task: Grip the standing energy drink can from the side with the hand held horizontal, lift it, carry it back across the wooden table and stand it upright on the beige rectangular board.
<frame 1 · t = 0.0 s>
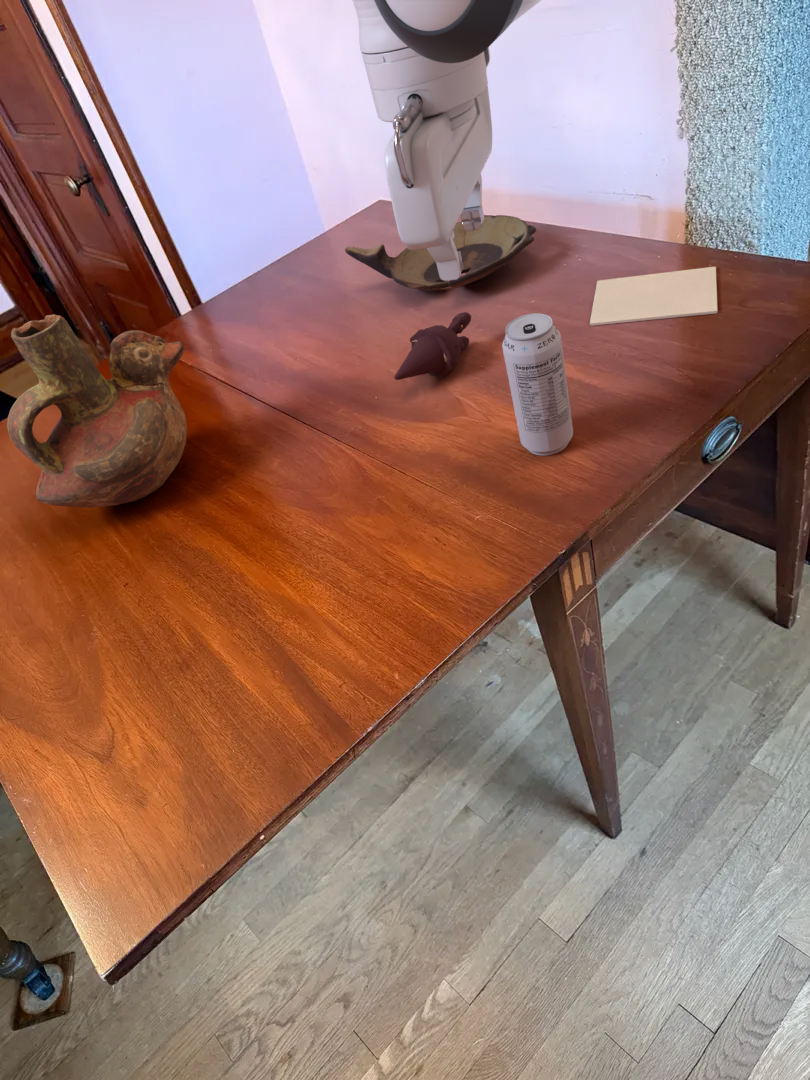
hand: (464, 250, 66), 26 cm above the table, tool pointing down, fingers open, 8 cm apart
energy drink can: (547, 443, 86), on the table
ceramic vessel: (150, 481, 103), on the table
beige rectangular board: (653, 297, 102), on the table
olive ceramic shallow bowl: (450, 274, 124), on the table
maroon pointed figurine: (439, 373, 103), on the table
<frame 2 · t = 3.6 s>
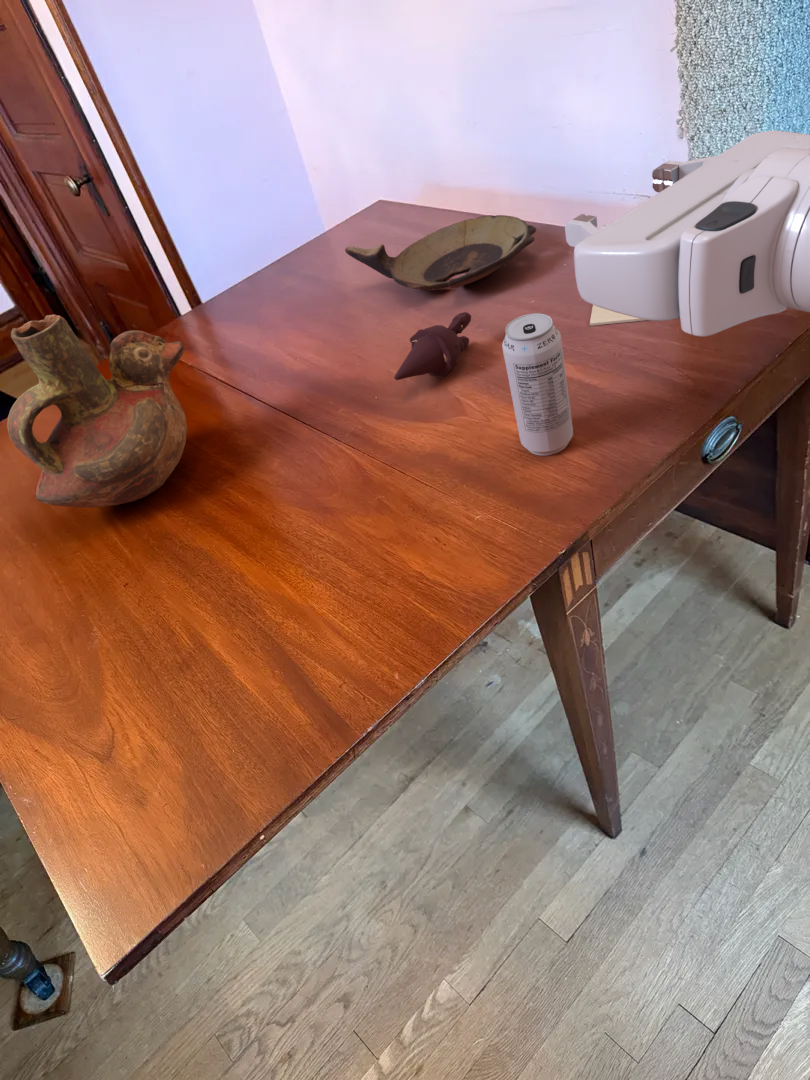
hand: (616, 202, 56), 30 cm above the table, tool horizontal, fingers open, 8 cm apart
nothing on the table moved.
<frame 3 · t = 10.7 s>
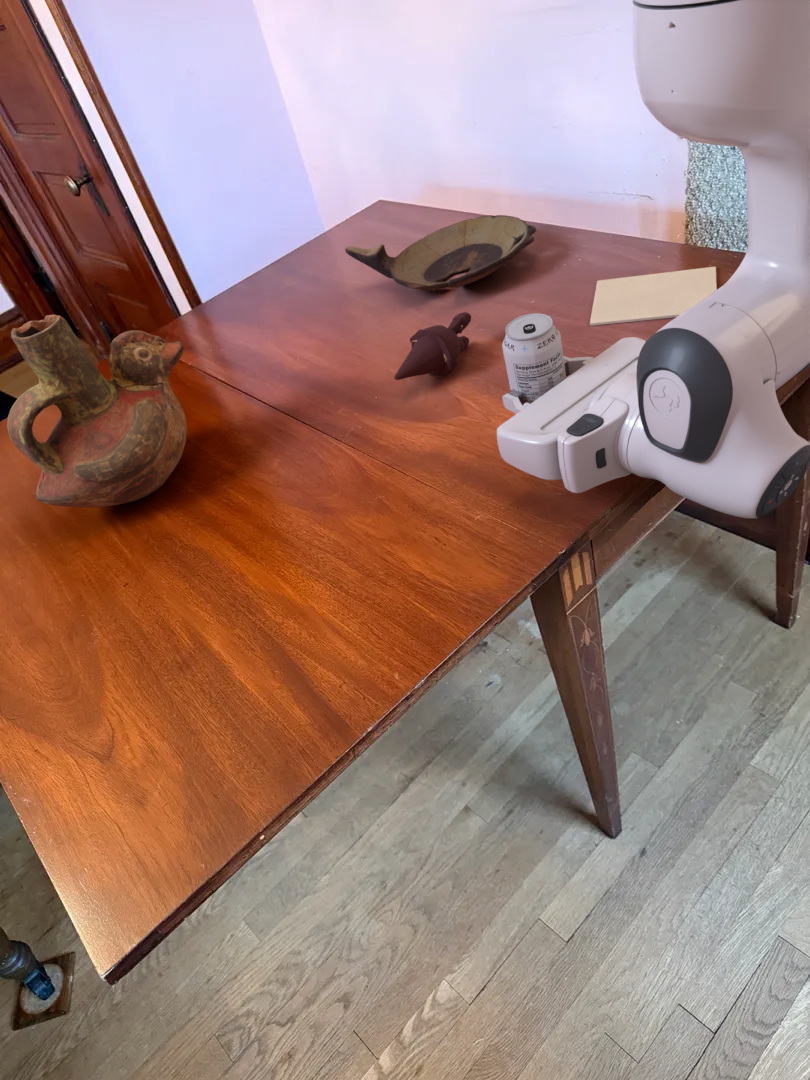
hand: (531, 381, 81), 8 cm above the table, tool horizontal, fingers closed on energy drink can, 6 cm apart
energy drink can: (547, 443, 86), on the table, touching gripper
everything else where it was.
when the fingers open (9 cm above the table, at t = 21.7 s): energy drink can stays where it is, resting on beige rectangular board.
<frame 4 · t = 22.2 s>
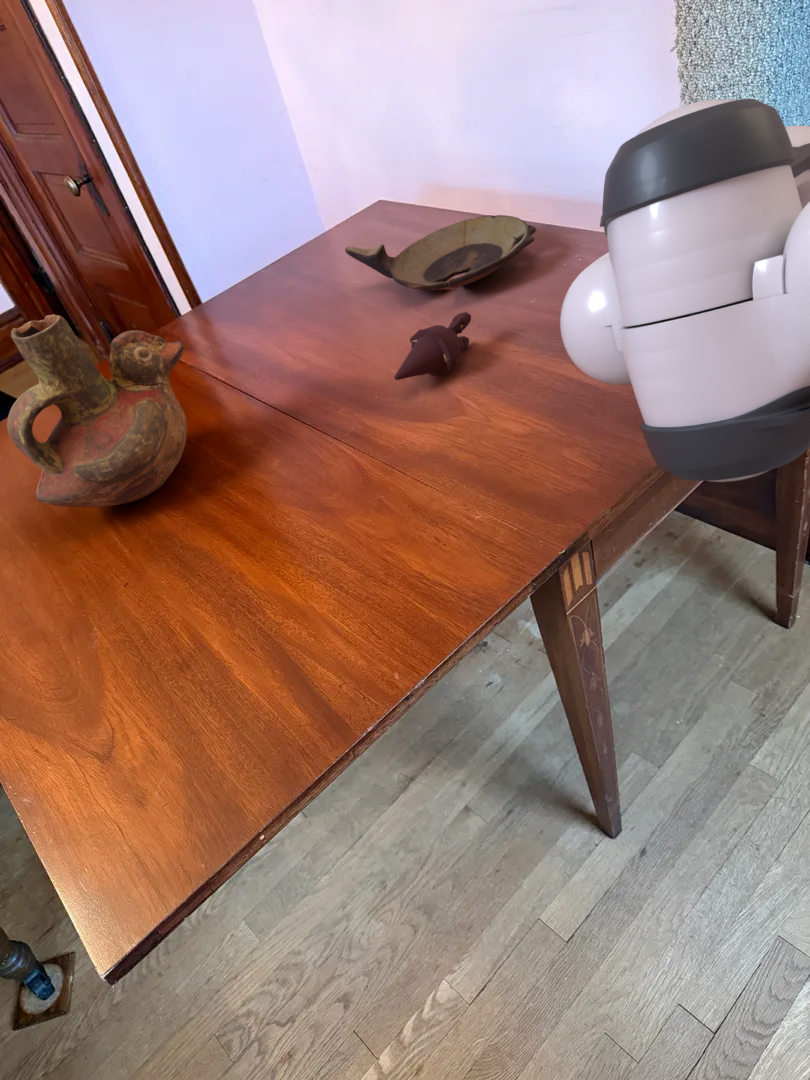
hand: (645, 232, 97), 9 cm above the table, tool horizontal, fingers open, 8 cm apart
energy drink can: (653, 296, 102), resting on beige rectangular board
everything else where it was.
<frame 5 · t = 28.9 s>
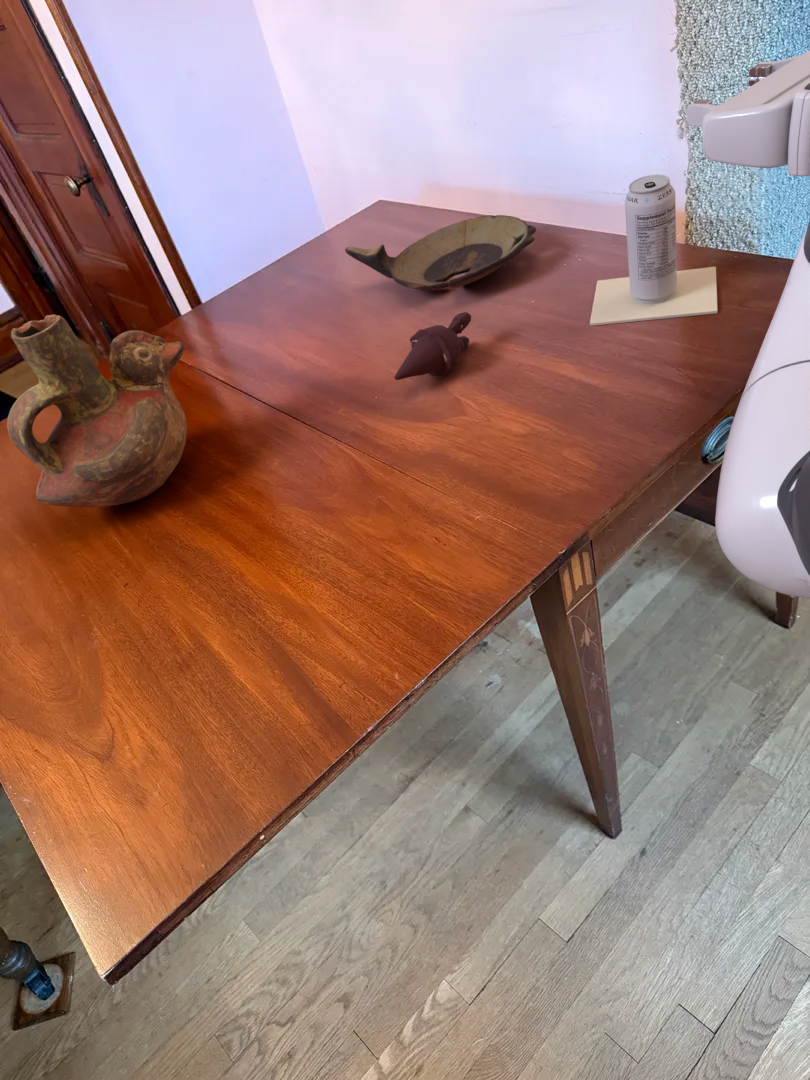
hand: (722, 93, 72), 28 cm above the table, tool horizontal, fingers open, 8 cm apart
nothing on the table moved.
at the end: energy drink can inside the target area on the beige rectangular board (0.1 cm from its centre), point 0.2 cm above the beige rectangular board's base; energy drink can tilted 0°; the gripper is holding nothing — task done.
